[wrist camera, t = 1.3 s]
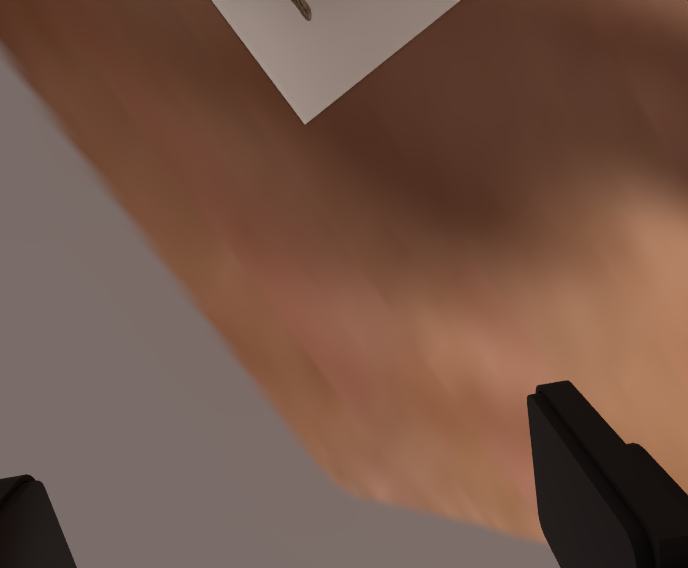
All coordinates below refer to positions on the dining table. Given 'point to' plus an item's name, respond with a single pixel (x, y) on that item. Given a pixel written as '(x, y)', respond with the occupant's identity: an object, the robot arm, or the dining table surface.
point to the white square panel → (326, 42)
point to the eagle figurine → (303, 8)
